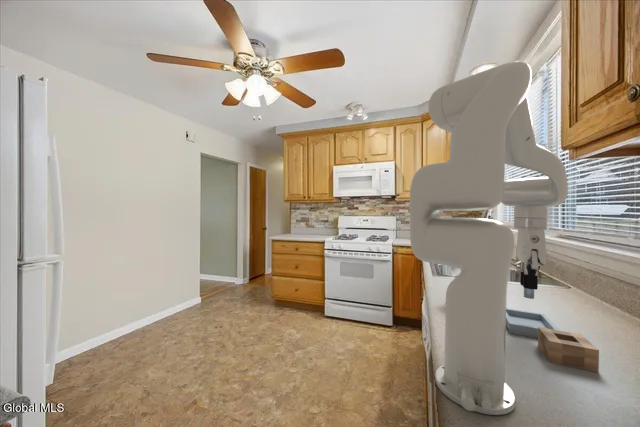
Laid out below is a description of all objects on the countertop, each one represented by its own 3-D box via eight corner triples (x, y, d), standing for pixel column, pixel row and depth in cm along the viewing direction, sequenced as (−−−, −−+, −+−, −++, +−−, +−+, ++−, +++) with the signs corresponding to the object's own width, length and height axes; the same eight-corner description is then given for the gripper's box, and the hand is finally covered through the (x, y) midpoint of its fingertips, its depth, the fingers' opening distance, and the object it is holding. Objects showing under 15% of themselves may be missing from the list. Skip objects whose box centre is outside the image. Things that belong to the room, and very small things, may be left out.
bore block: (598, 372, 54) (599, 350, 54) (548, 361, 57) (549, 341, 57) (580, 353, 61) (581, 334, 61) (537, 345, 64) (538, 327, 64)
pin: (535, 299, 74) (536, 264, 73) (524, 297, 75) (525, 263, 74) (532, 296, 76) (533, 262, 76) (522, 295, 77) (523, 262, 77)
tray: (561, 342, 66) (561, 332, 66) (509, 332, 71) (509, 323, 71) (543, 322, 79) (544, 314, 79) (500, 315, 84) (500, 307, 84)
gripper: (557, 226, 66) (555, 297, 66) (537, 223, 80) (536, 282, 81) (520, 225, 69) (519, 293, 70) (508, 222, 84) (507, 279, 84)
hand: (528, 286), depth 75 cm, fingers closed on pin, 2 cm apart
